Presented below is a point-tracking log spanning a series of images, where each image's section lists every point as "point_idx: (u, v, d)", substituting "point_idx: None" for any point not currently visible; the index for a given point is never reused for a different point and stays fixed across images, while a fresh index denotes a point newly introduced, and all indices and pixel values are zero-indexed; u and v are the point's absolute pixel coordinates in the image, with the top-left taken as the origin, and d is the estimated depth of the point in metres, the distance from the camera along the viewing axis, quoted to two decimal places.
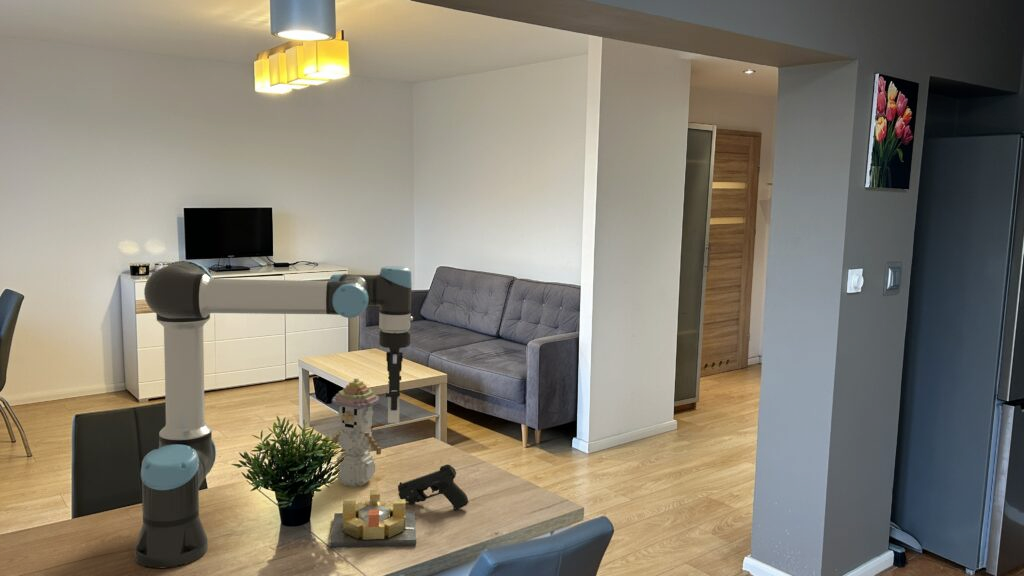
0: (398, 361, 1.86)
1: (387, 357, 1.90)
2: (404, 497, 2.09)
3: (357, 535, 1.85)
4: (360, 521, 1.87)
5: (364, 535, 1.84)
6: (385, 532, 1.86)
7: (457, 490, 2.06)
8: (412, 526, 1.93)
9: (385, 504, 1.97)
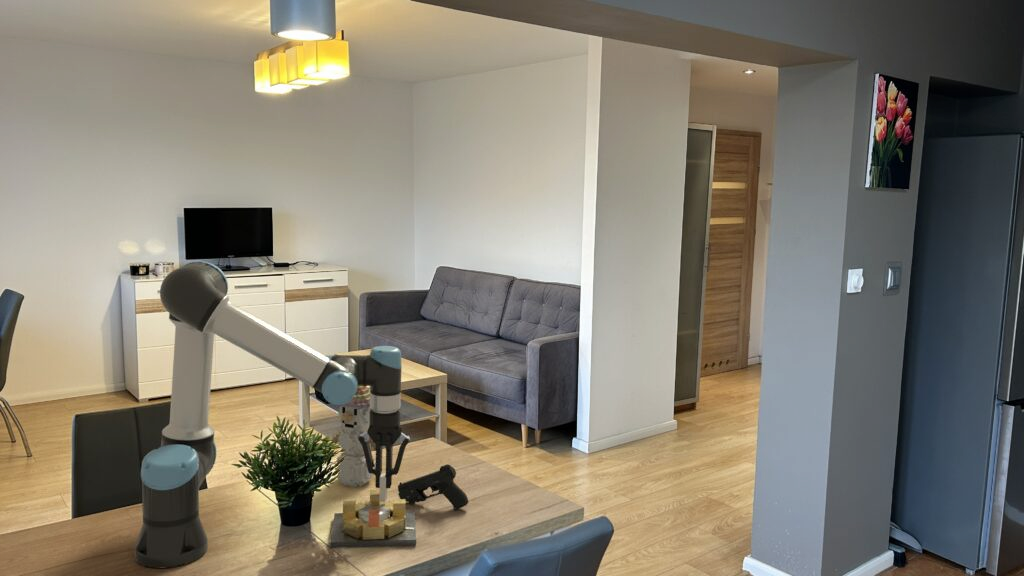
0: None
1: (390, 438, 1.93)
2: (404, 497, 2.09)
3: (357, 535, 1.85)
4: (360, 521, 1.87)
5: (364, 535, 1.84)
6: (385, 532, 1.86)
7: (457, 490, 2.06)
8: (412, 526, 1.93)
9: (385, 504, 1.97)
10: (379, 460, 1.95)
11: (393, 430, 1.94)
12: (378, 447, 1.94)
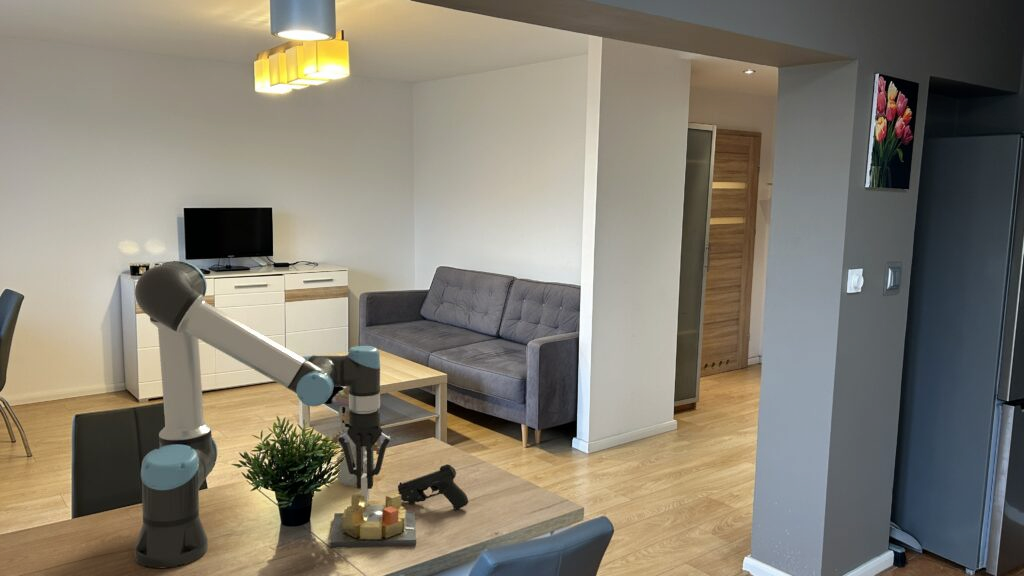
0: None
1: (370, 438, 1.92)
2: (404, 497, 2.09)
3: (380, 536, 1.85)
4: (375, 523, 1.87)
5: (387, 534, 1.85)
6: None
7: (457, 490, 2.06)
8: (412, 526, 1.93)
9: (369, 504, 1.97)
10: (360, 461, 1.93)
11: (373, 430, 1.92)
12: (358, 448, 1.92)
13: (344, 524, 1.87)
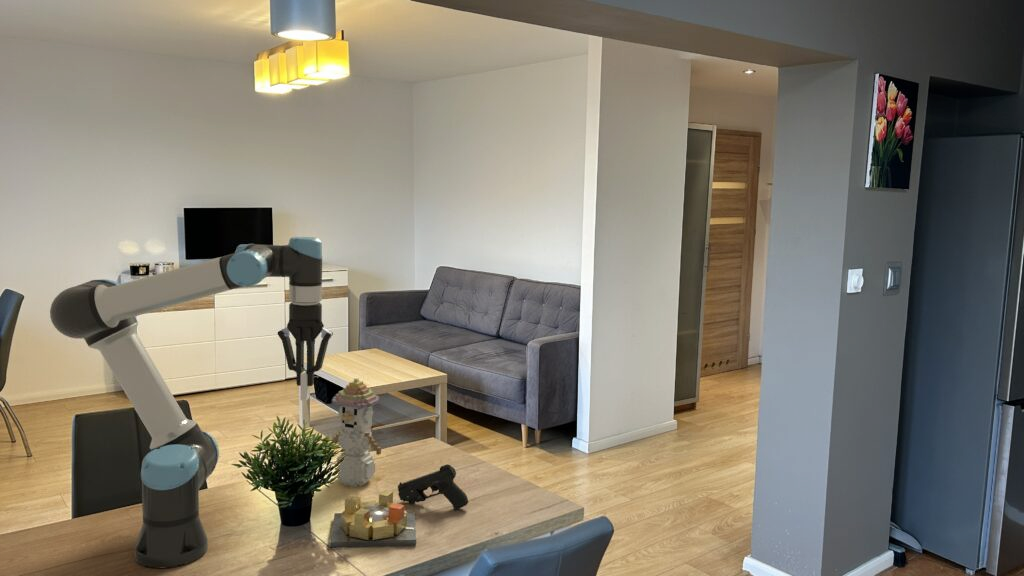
0: None
1: (311, 332, 1.86)
2: (404, 497, 2.09)
3: (392, 533, 1.86)
4: (383, 521, 1.87)
5: (398, 530, 1.88)
6: None
7: (457, 490, 2.06)
8: (412, 526, 1.93)
9: (360, 505, 1.96)
10: (300, 356, 1.87)
11: (314, 324, 1.86)
12: (298, 342, 1.86)
13: (351, 528, 1.85)
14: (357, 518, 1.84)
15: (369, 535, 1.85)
